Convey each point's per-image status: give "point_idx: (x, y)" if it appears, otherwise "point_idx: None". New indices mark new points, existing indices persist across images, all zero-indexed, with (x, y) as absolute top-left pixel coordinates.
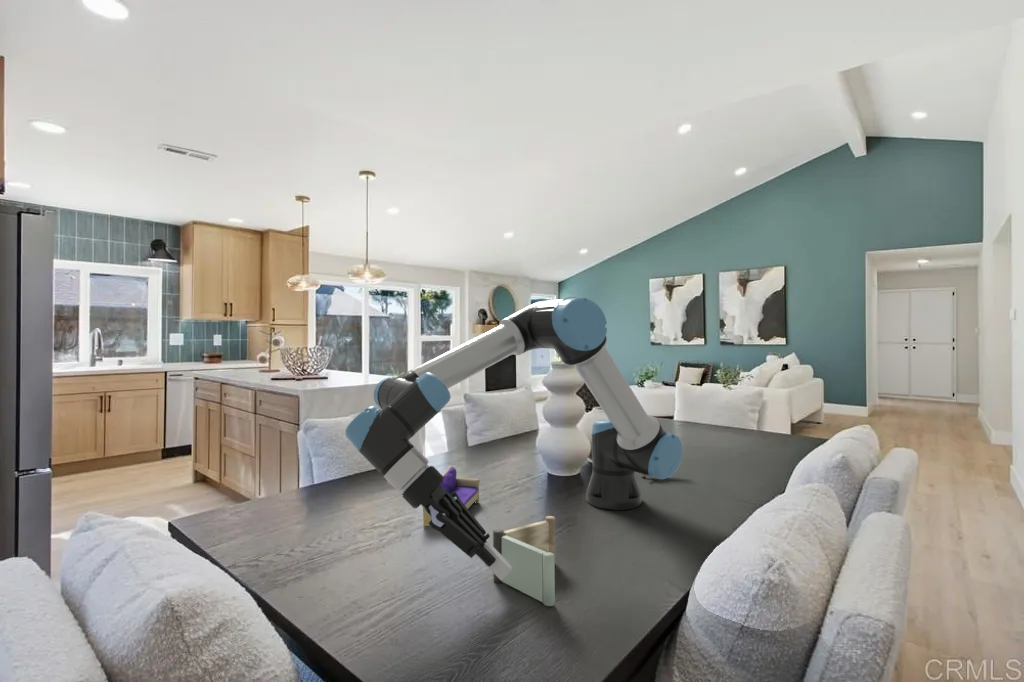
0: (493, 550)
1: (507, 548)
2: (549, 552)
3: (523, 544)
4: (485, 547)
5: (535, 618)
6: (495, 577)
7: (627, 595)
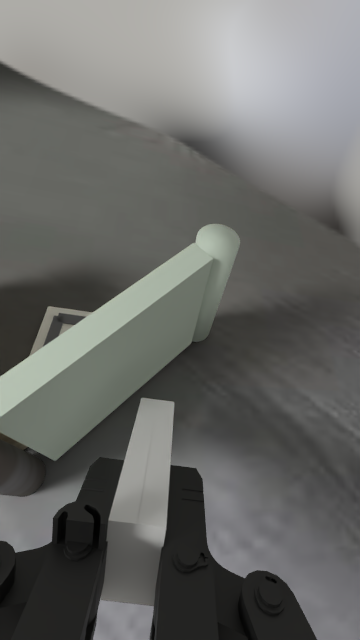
0: (156, 474)
1: (48, 405)
2: (198, 235)
3: (113, 317)
4: (166, 529)
5: (250, 368)
6: (34, 486)
7: (152, 190)
